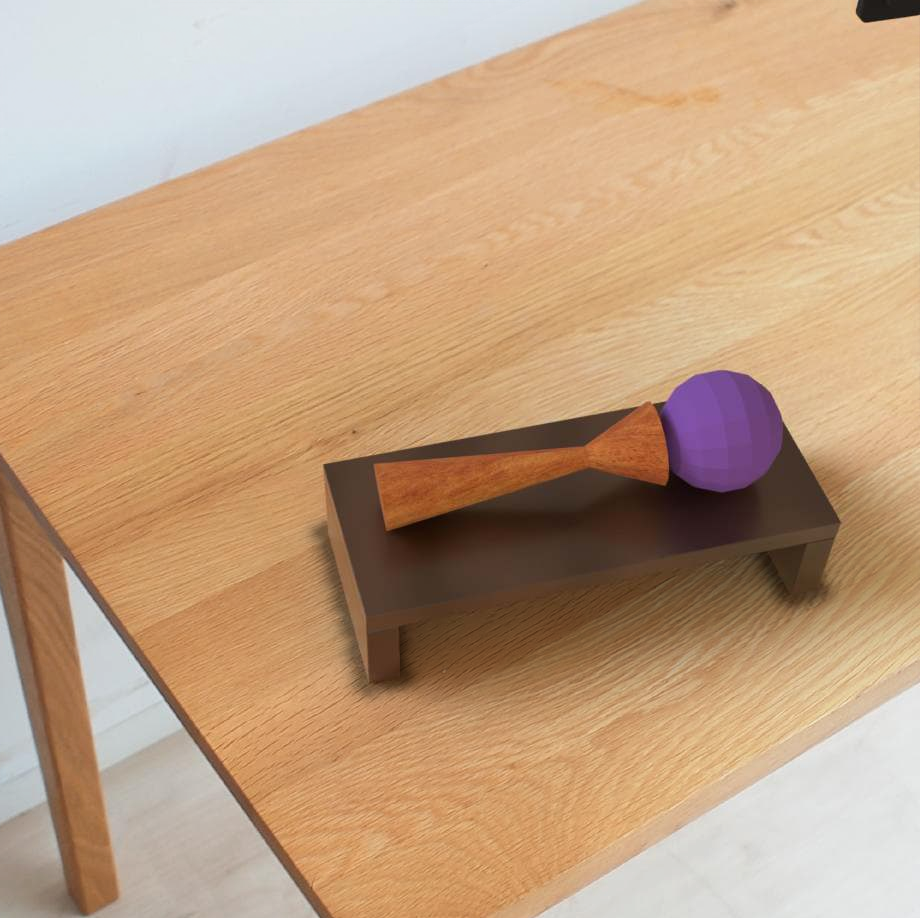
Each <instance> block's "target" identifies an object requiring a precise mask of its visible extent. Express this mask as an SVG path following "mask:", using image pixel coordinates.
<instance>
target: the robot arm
mask: <svg viewBox="0 0 920 918" xmlns="http://www.w3.org/2000/svg"><path fill="white" fill-rule="evenodd" d="M855 7H856V8H855V15H856V16H857V18H858V19H859V20H860V21H861V22H862V23H865V24H868V23H869V24H870V23H876V22H883V21H889V20H897V19H898V20H899V19H903V18H910V17H911V18H912V17H917V16H920V0H857V4H856V6H855Z"/></svg>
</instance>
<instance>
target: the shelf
mask: <svg viewBox="0 0 920 918" xmlns="http://www.w3.org/2000/svg"><path fill="white" fill-rule="evenodd" d="M760 384H761V385H763V383H760ZM666 402H667V400H666V401H660V402H655V403H652V404H653V406H654V407H655V408H656V411H657V413H658V416H659V418H660V413H661V410H662V408H663V406H664V405H665V403H666ZM640 406H641V405H637V406H632V407H628V408H621V409H616V410H611V411H605V412H599V413H595V414H589V415H584V416H579V417H573V418H567V419H561V420H557V421H551V422H545V423H540V424H535V425H530V426H524V427H517V428H512V429H507V430H502V431H496V432H491V433H485V434H480V435H474V436H469V437H463V438H458V439H453V440H447V441H442V442H436V443H430V444H425V445H420V446H414V447H409V448H403V449H397V450H393V451H388V452H387V451H386V452H382V453H375V454H371V455H366V456H359V457H355V458H354V457H353V458H350V459H343V460H338V461H333V462H328V463H323V464H322V470H323V471H322V472H323V481H324V482H323V483H324V495H325V496H324V497H325V508H326V509H325V510H326V520H327V521H326V522H327V523H326V524H327V535H328V538H329V542H330V545H331V549H332V552H333V557H334V560H335V563H336V568H337V571H338V574H339V578H340V579H339V580H340V581H341V586H342V589H343V593H344V597H345V600H346V604H347V608H348V611H349V616H350V619H351V623H352V626H353V631H354V634H355V637H356V640H357V645H358V649H359V652H360V655H361V659H362V663H363V666H364V667H363V668H364V671H365V674H366V678H367V681H368V683H369V684H372V683H378V682H383V681H387V680H392V679H396V678H397V679H398V678H399V677H401V659H400V657H401V656H400V652H401V651H400V627H401V626H405V625H411V624H415V623H420V622H421V623H422V622H424V621H425V622H426V621H430V620H435V619H440V618H445V617H449V616H455V615H461V614H466V613H470V612H475V611H479V610H484V609H489V608H494V607H499V606H504V605H509V604H513V603H519V602H524V601H527V600H529V601H530V600H533V599H538V598H543V597H549V596H553V595H559V594H562V593H568V592H573V591H577V590H583V589H587V588H588V589H589V588H592V587H598V586H602V585H607V584H613V583H618V582H623V581H627V580H631V579H635V578H636V579H637V578H642V577H647V576H651V575H656V574H661V573H666V572H671V571H676V570H677V571H678V570H680V569H686V568H691V567H697V566H701V565H705V564H710V563H716V562H720V561H725V560H726V561H727V560H730V559H735V558H741V557H744V556H749V555H755V554H761V553H767V555H768V556H769V558H770V560H771V562H772V564H773V566H774V567H775V570H776V571H777V573H778V575H779V577H780V579H781V581H782V583H783V586H784V587H785V589H786V591H787V592H788V593H787V594H788V595H790V596H795V595H798V594H803V593H807V592H813V591H817V590H818V589H819V587H820V584H821V581H822V579H823V575H824V572H825V569H826V567H827V564H828V561H829V557H830V555H831V552H832V549H833V546H834V543H835V540H836V537H837V536H838V532H839V530H840V527H841V525H842V524H841V523H842V521H841V519H840V517H839V516H838V514H837V512H836V510H835V509H834V506H833V505H832V503H831V502H830V499H829V498H828V496H827V494H826V493H825V491H824V489H823V488H822V486H821V484H820V482H819V481H818V479H817V477H816V475H815V474H814V472H813V471H812V469H811V467H810V465H809V463H808V462H807V460H806V458H805V456H804V454H803V453H802V451H801V450H800V448H799V446H798V444H797V443H796V441H795V439H794V437H793V435H792V434H791V432H790V430H789V428H788V427H787V425H786V423H785V422H784V419H782V421H783V434H782V445H781V450H780V452H779V453H778V455H777V457H776V458H775V460H774V461H773V463H772V465H771V466H770V468H769V469H768V470H767V472H766V473H765V475H763V476H762V477H760V478H759V479H757V480H756V481H754V482H753V483H751V484H750V485H748V486H747V487H745V488H741V489H736V490H731V491H726V492H717V491H712V490H707V489H702V488H697V487H694V486H692V485H690V484H689V483H687V482H686V481H684V480H683V479H681V478H680V477H679V476H677V475H676V474H674V472H673V471H672V469H671V468H670V466H669V475H668V481H667V483H666V485H665V486H664V485H660V484H656V483H651V482H647V481H643V480H639V479H634V478H630V477H626V476H621V475H617V474H613V473H608V472H604V471H600V470H596V469H591V468H587V469H584V470H581V471H578V472H574V473H571V474H568V475H565V476H562V477H559V478H555V479H552V480H549V481H546V482H543V483H539V484H536V485H533V486H530V487H527V488H523V489H520V490H517V491H514V492H511V493H507V494H504V495H501V496H498V497H495V498H492V499H488V500H485V501H482V502H479V503H476V504H472V505H469V506H466V507H463V508H460V509H456V510H453V511H450V512H447V513H444V514H440V515H437V516H434V517H431V518H428V519H424V520H421V521H418V522H415V523H412V524H409V525H405V526H402V527H399V528H396V529H393V530H389V531H387V530H386V526H385V522H384V518H383V513H382V508H381V504H380V499H379V493H378V488H377V482H376V477H375V470H374V464H379V463H391V462H403V461H415V460H427V459H439V458H451V457H462V456H474V455H486V454H498V453H510V452H522V451H534V450H546V449H558V448H570V447H582V446H585V445H587V444H588V443H590V442H591V441H592V440H594V439H595V438H597V437H598V436H599V435H601V434H602V433H604V432H605V431H606V430H608V429H609V428H611V427H612V426H613V425H615V424H616V423H618V422H619V421H620V420H622V419H623V418H625V417H626V416H627V415H629V414H630V413H631V412H633V411H634V410H636V409H637V408H638V407H640Z"/></svg>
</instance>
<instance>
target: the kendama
mask: <svg viewBox="0 0 920 918" xmlns="http://www.w3.org/2000/svg"><path fill="white" fill-rule="evenodd" d="M761 384H762V383H760V382H759V381H758V380H756V379H754V378H753V377H752V376H750V375H749V374H747V373H742V372H737V371H732V370H728V369H717V370H712V371H707V372H706V371H705V372H702V373H697V374H694V375H692V376H691V377H689V378H688V379H687V380H685V381H684V382H682V383H680V384H678V385H677V386H676V387H675V388H674V390H673V391H672V392H671V394H670V395H669V398H668V399H667V400H666V401H667V402H666V403H665V405H664V406H663V408H662V410H661V413H660V418H659V416H658V413H657V411H656V408H655V407H654V406H653V404H654V403H652V402H651V401H646V402H644V403H643V404H641V405H639V406H640V407H638V408H637V409H636V410H634V411H633V412H631V413H630V414H629V415H627V416H626V417H625V418H623V419H622V420H620V421H619V422H618V423H616V424H615V425H613V426H612V427H611V428H609V429H608V430H606V431H605V432H604V433H602V434H601V435H599V436H598V437H597V438H595V439H594V440H592V441H591V442H590V443H588V444H587V445H585V446H582V447H570V448H558V449H546V450H534V451H522V452H510V453H498V454H486V455H474V456H462V457H451V458H439V459H427V460H415V461H403V462H391V463H379V464H374V470H375V477H376V482H377V488H378V493H379V499H380V504H381V508H382V513H383V518H384V522H385V526H386V530H387V531H389V530H393V529H396V528H399V527H402V526H405V525H409V524H412V523H415V522H418V521H421V520H424V519H428V518H431V517H434V516H437V515H440V514H444V513H447V512H450V511H453V510H456V509H460V508H463V507H466V506H469V505H472V504H476V503H479V502H482V501H485V500H488V499H492V498H495V497H498V496H501V495H504V494H507V493H511V492H514V491H517V490H520V489H523V488H527V487H530V486H533V485H536V484H539V483H543V482H546V481H549V480H552V479H555V478H559V477H562V476H565V475H568V474H571V473H574V472H578V471H581V470H584V469H587V468H591V469H596V470H600V471H604V472H608V473H613V474H617V475H621V476H626V477H630V478H634V479H639V480H643V481H647V482H651V483H656V484H660V485H664V486H665V485H666V483H667V481H668V475H669V466H670V468H671V469H672V471H673V472H674V474H676V475H677V476H679V477H680V478H681V479H683V480H684V481H686V482H687V483H689V484H690V485H692V486H694V487H697V488H702V489H707V490H712V491H717V492H726V491H731V490H736V489H741V488H745V487H747V486H748V485H750V484H751V483H753V482H754V481H756V480H757V479H759V478H760V477H762V476H763V475H765V473H766V472H767V470H768V469H769V468H770V466H771V465H772V463H773V461H774V460H775V458H776V457H777V455H778V453H779V452H780V450H781V445H782V434H783V422H784V420H783V416H782V414H781V413H782V412H781V411H780V408H779V406H778V404H777V402H776V401H775V398H774V396H773V394H772V392H771V391H770V390H769V389H768V388H767V387H765V386H764V385H763V384H762V385H761ZM782 420H783V421H782Z"/></svg>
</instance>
